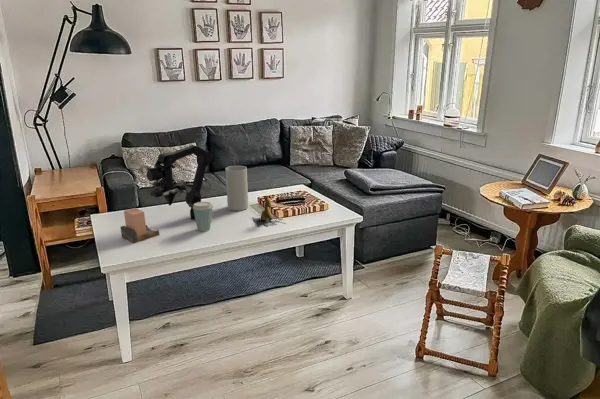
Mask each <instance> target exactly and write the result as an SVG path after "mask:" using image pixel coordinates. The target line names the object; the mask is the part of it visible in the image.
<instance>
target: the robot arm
mask: <svg viewBox="0 0 600 399" xmlns="http://www.w3.org/2000/svg"><path fill="white" fill-rule="evenodd" d="M191 155H195V156H196V163H197V166H196V171H195V174H194V179H193V183H192V186H191V190H190V191H186V190H187V186H186V185H185V184H184V183H181V182H179V183H175V184H174V182H175V179H174V175H173V169H176V167H177V166H175V165H174V164H175V163H176V162H177V161H178V160H180V159H182V158H183V159H184V158H186V157H188V156H191ZM212 159H213V154H212V152H211V151H208V150H207V151H206V150H205V149H203V148H202V147H201V148H200V147H199V145H195V144H190V145H189V146H186V147H183V148H181V149H178V150H175V151H171V152H164V153H160V154H159V155H158V157H157V160H156V162H155V164H154V166H153V167H148V168H147V171H146V178H147V180H148V181H149V182H152V185H153V188H154V189H152V190H150V192H149V194H150V195H149V196H150V197H151V196H152V197H154V198H160V197H162V196H163V197H164V198H165V200H166V202H167V204H168V206H172V204H173V201H174V199H175V197H176V195H177V194H178V192H177V190H179V191H182V192H183V191H186V195H185V198H184V199H185V203H186V205H188V207H189V208H190V210H189V217H190V220H195V215H194V210H193V205H194V204H195V203H198V202H202V193H201V191H202V190H201V189H202V186H203V183H204V178H205V174H206V170H207V168H208V166H209V165H210V164H211V161H212ZM159 180H160V181H159Z"/></svg>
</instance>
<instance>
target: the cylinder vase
mask: <svg viewBox="0 0 600 399" xmlns="http://www.w3.org/2000/svg"><path fill="white" fill-rule="evenodd" d="M225 183H226V184H225V185H226V200H227V201H226V203H227V208H228V210H229V211H233V212H239V211H240V212H241V211H246V209H249V192H248V191H249V190H248V188H249V187H248V168H247V166H244V165H230V166H227V167H225Z"/></svg>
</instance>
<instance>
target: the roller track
mask: <svg viewBox="0 0 600 399" xmlns="http://www.w3.org/2000/svg"><path fill="white" fill-rule="evenodd" d="M120 232H121V238H122V239H124V240H126V241H128V242H130V243H131V244H137V243H139V242H143V241H147V240H149V239H151V238H155V237H158V236H160V230H155V229H152V228H150V227H149V226H148V225H147V224H146V232H147V234H144V235H141V236H138V237H137V232H136V231H135V230H133V229H130V228H128V227H126V225H122V226H120Z"/></svg>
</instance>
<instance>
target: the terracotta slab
mask: <svg viewBox="0 0 600 399" xmlns="http://www.w3.org/2000/svg"><path fill="white" fill-rule="evenodd" d="M123 214H124V215H123V216H124V222H125V226H126V227H128V228H130V229H133V230H135V231H136V232H137V237H138V236H141V235H144V234H147V232H146V225H147V224H146V217H145V211H144V210H140V209H139V208H136V207H133V208H130V209H126V210H123Z"/></svg>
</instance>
